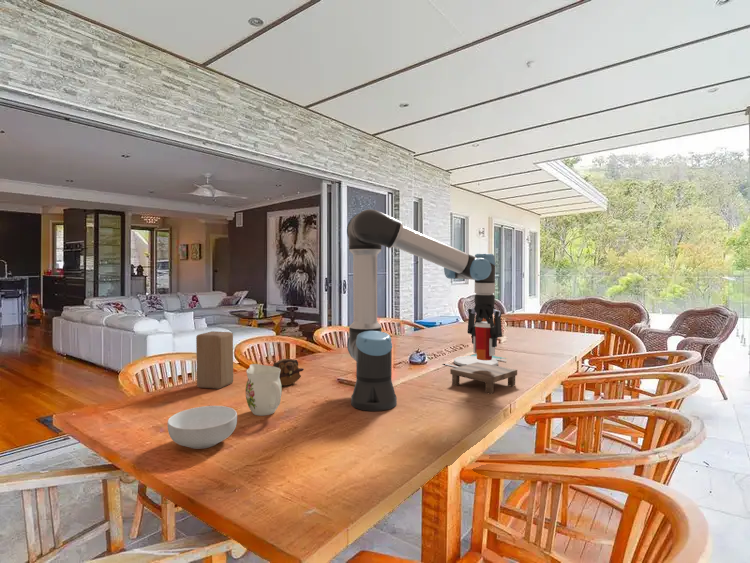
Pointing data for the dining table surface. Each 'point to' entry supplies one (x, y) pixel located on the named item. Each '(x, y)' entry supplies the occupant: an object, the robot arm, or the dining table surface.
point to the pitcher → (263, 389)
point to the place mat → (474, 360)
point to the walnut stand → (483, 374)
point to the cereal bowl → (202, 426)
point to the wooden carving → (288, 371)
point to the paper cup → (482, 340)
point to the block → (214, 359)
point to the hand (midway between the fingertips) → (484, 353)
